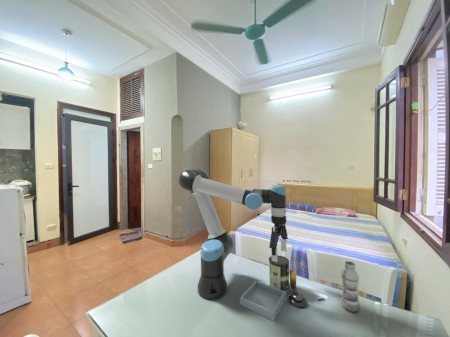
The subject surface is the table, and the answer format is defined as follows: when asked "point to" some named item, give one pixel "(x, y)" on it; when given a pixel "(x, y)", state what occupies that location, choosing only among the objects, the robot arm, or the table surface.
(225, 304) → the table surface
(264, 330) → the table surface
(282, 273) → the coffee can
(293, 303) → the crank base
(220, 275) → the robot arm
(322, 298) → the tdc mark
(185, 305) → the table surface
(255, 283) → the tray
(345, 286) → the plastic bottle
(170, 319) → the table surface
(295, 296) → the crank
